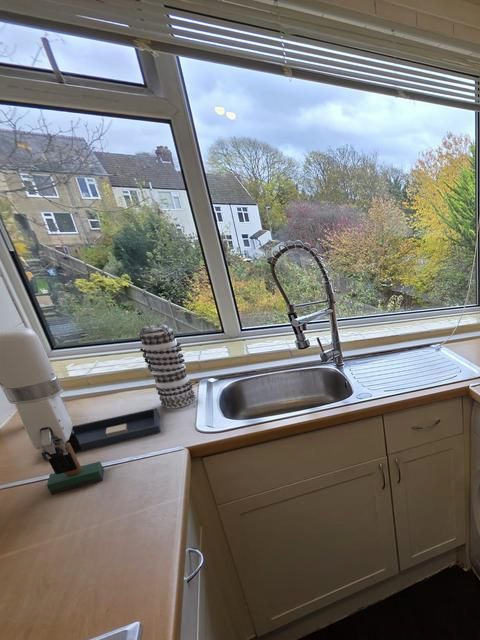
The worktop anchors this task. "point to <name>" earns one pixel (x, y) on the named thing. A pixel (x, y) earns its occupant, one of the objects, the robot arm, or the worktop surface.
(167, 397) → the black white patterned cylinder
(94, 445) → the tray
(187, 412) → the worktop surface
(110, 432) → the cream square tile
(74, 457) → the brush
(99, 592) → the worktop surface
